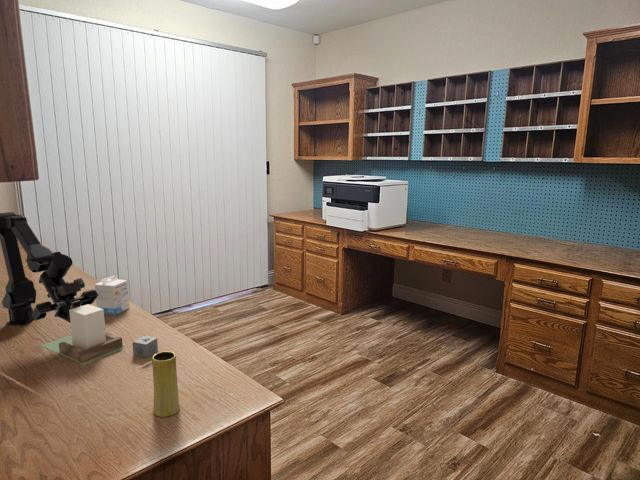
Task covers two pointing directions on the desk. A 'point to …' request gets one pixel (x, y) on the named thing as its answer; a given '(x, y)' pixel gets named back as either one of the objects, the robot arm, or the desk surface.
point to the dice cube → (145, 346)
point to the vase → (165, 384)
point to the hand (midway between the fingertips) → (78, 325)
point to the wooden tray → (93, 352)
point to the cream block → (87, 326)
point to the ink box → (112, 295)
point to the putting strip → (55, 344)
